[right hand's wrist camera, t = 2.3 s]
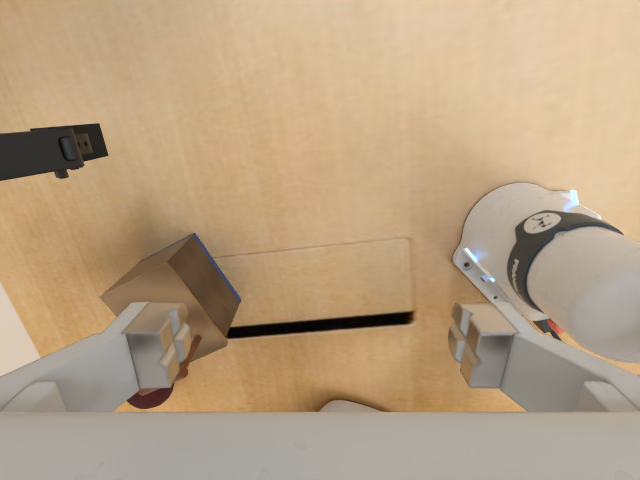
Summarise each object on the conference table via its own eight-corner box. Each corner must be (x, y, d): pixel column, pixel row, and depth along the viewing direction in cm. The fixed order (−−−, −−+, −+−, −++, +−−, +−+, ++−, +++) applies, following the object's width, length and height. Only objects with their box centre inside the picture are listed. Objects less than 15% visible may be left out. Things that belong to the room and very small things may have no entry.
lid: (228, 341, 46) (210, 386, 39) (168, 368, 48) (140, 416, 40) (167, 260, 42) (134, 294, 34) (103, 293, 43) (59, 332, 36)
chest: (241, 299, 55) (225, 337, 46) (190, 323, 57) (165, 364, 48) (194, 232, 51) (167, 260, 42) (141, 260, 53) (103, 293, 43)
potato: (129, 366, 60) (105, 398, 53) (160, 346, 58) (140, 376, 52) (159, 392, 62) (140, 426, 56) (190, 373, 60) (174, 406, 54)
